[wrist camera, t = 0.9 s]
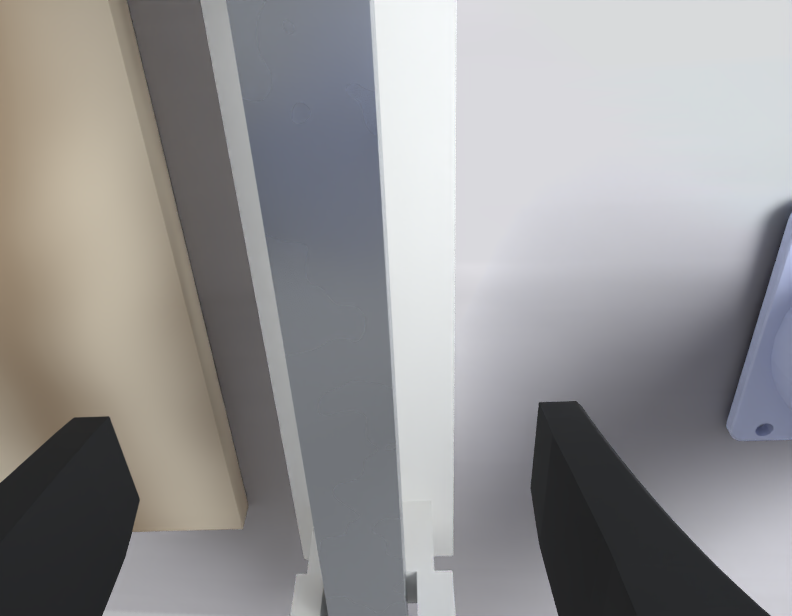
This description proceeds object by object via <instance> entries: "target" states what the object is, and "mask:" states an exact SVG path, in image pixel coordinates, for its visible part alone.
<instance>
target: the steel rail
mask: <svg viewBox="0 0 792 616" xmlns="http://www.w3.org/2000/svg"><path fill="white" fill-rule="evenodd" d="M226 4H227V10H228V16H229V22H230V28H231V34H232V40H233V46H234V52H235V58H236V64H237V70H238V76H239V82H240V88H241V94H242V100H243V106H244V112H245V118H246V124H247V130H248V136H249V142H250V148H251V154H252V160H253V166H254V172H255V178H256V184H257V190H258V196H259V202H260V208H261V214H262V220H263V226H264V232H265V238H266V244H267V250H268V256H269V262H270V268H271V274H272V280H273V286H274V292H275V298H276V304H277V310H278V316H279V322H280V328H281V334H282V340H283V346H284V352H285V358H286V364H287V370H288V376H289V382H290V388H291V394H292V400H293V406H294V412H295V418H296V424H297V430H298V436H299V442H300V448H301V454H302V460H303V466H304V472H305V478H306V484H307V490H308V496H309V502H310V508H311V514H312V520H313V526H314V532H315V538H316V544H317V550H318V556H319V562H320V568H321V574H322V580H323V586H324V592H325V598H326V604H327V610H328V616H409V615H408V597H407V579H406V561H405V543H404V525H403V507H402V489H401V471H400V453H399V435H398V417H397V399H396V381H395V363H394V345H393V327H392V309H391V291H390V273H389V255H388V237H387V220H386V202H385V184H384V166H383V148H382V130H381V112H380V94H379V76H378V58H377V40H376V22H375V4H374V0H226Z"/></svg>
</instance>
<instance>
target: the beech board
mask: <svg viewBox="0 0 792 616" xmlns="http://www.w3.org/2000/svg"><path fill="white" fill-rule="evenodd" d="M102 416H109V417H110V419H111V422H112V425H113V427H114V430H115V433H116V436H117V438H118V441H119V444H120V446H121V449H122V452H123V454H124V457H125V460H126V463H127V465H128V468H129V471H130V473H131V476H132V479H133V482H134V484H135V487H136V490H137V492H138V495H139V498H140V502H139V506H138V510H137V514H136V518H135V522H134V526H133V531H132V532H146V531H187V530H228V529H243V526H244V522H245V518H246V514H247V509H248V502H247V497H246V493H245V489H244V485H243V481H242V477H241V472H240V468H239V464H238V460H237V456H236V452H235V448H234V443H233V439H232V435H231V431H230V427H229V423H228V418H227V414H226V410H225V406H224V402H223V398H222V394H221V389H220V385H219V381H218V377H217V373H216V369H215V364H214V360H213V356H212V352H211V348H210V344H209V340H208V335H207V331H206V327H205V323H204V319H203V315H202V311H201V306H200V302H199V298H198V294H197V290H196V286H195V281H194V277H193V273H192V269H191V265H190V261H189V257H188V252H187V248H186V244H185V240H184V236H183V232H182V227H181V223H180V219H179V215H178V211H177V207H176V203H175V198H174V194H173V190H172V186H171V182H170V178H169V173H168V169H167V165H166V161H165V157H164V153H163V149H162V144H161V140H160V136H159V132H158V128H157V124H156V119H155V115H154V111H153V107H152V103H151V99H150V95H149V90H148V86H147V82H146V78H145V74H144V70H143V66H142V61H141V57H140V53H139V49H138V45H137V41H136V36H135V32H134V28H133V24H132V20H131V16H130V12H129V7H128V3H127V0H0V483H1V482H2V481H3V480H4V479H5V478H6V477H7V476H8V475H10V474H11V473H12V472H13V471H14V470H15V469H16V468H17V467H18V466H19V465H21V464H22V463H23V462H24V461H25V460H26V459H27V458H28V457H29V456H31V455H32V454H33V453H34V452H35V451H36V450H37V449H38V448H39V447H40V446H42V445H43V444H44V443H45V442H46V441H47V440H48V439H49V438H50V437H52V436H53V435H54V434H55V433H56V432H57V431H58V430H60V429H61V428H62V427H63V426H64V425H65V424H67V423H68V422H69V421H70V420H71V419H73V418H74V417H102Z"/></svg>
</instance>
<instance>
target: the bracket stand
mask: <svg viewBox="0 0 792 616" xmlns="http://www.w3.org/2000/svg"><path fill="white" fill-rule="evenodd" d="M200 2H201V8H202V13H203V19H204V24H205V29H206V35H207V40H208V45H209V51H210V56H211V62H212V67H213V72H214V78H215V83H216V88H217V94H218V99H219V105H220V110H221V115H222V121H223V126H224V131H225V137H226V142H227V148H228V153H229V158H230V164H231V169H232V174H233V180H234V185H235V191H236V196H237V201H238V207H239V212H240V218H241V223H242V228H243V234H244V239H245V244H246V250H247V255H248V261H249V266H250V271H251V277H252V282H253V287H254V293H255V298H256V304H257V309H258V314H259V320H260V325H261V330H262V336H263V341H264V347H265V352H266V357H267V363H268V368H269V373H270V379H271V384H272V390H273V395H274V400H275V406H276V411H277V416H278V422H279V427H280V433H281V438H282V443H283V449H284V454H285V460H286V465H287V470H288V476H289V481H290V486H291V492H292V497H293V503H294V508H295V513H296V519H297V524H298V529H299V535H300V540H301V546H302V551H303V556H304V559H309V561H308V569H307V574H296V579H295V586H294V593H293V600H292V607H291V614H290V616H328V610H327V604H326V598H325V592H324V586H323V580H322V574H321V568H320V562H319V556H318V550H317V544H316V538H315V532H314V526H313V520H312V514H311V508H310V502H309V496H308V490H307V484H306V478H305V472H304V466H303V460H302V454H301V448H300V442H299V436H298V430H297V424H296V418H295V412H294V406H293V400H292V394H291V388H290V382H289V376H288V370H287V364H286V358H285V352H284V346H283V340H282V334H281V328H280V322H279V316H278V310H277V304H276V298H275V292H274V286H273V280H272V274H271V268H270V262H269V256H268V250H267V244H266V238H265V232H264V226H263V220H262V214H261V208H260V202H259V196H258V190H257V184H256V178H255V172H254V166H253V160H252V154H251V148H250V142H249V136H248V130H247V124H246V118H245V112H244V106H243V100H242V94H241V88H240V82H239V76H238V70H237V64H236V58H235V52H234V46H233V40H232V34H231V28H230V22H229V16H228V10H227V4H226V0H200ZM374 4H375V22H376V40H377V58H378V76H379V94H380V112H381V130H382V148H383V166H384V184H385V202H386V220H387V237H388V255H389V273H390V291H391V309H392V327H393V345H394V363H395V381H396V399H397V417H398V435H399V453H400V471H401V489H402V507H403V525H404V543H405V561H406V579H407V597H408V603H418V616H456V612H455V599H454V585H453V572H452V570H446V571H435V570H434V556H453V516H454V349H455V181H456V13H457V0H374Z"/></svg>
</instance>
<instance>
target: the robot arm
mask: <svg viewBox="0 0 792 616" xmlns="http://www.w3.org/2000/svg"><path fill="white" fill-rule="evenodd" d="M761 424H764V425H762V426H760V425H761ZM758 426H760V427H758ZM726 428H727V429H728V431H729V433H730V434H731V436H732V438H734V439H736V440H739V441H763V440H792V212H791V214H790V216H789V219H788V222H787V225H786V229H785V232H784V235H783V239H782V242H781V245H780V248H779V252H778V255H777V258H776V262H775V265H774V268H773V272H772V275H771V278H770V281H769V285H768V288H767V291H766V295H765V298H764V301H763V304H762V308H761V311H760V314H759V318H758V321H757V324H756V327H755V331H754V334H753V337H752V341H751V344H750V347H749V350H748V354H747V357H746V360H745V364H744V367H743V370H742V373H741V377H740V380H739V383H738V387H737V390H736V393H735V396H734V400H733V403H732V406H731V410H730V413H729V416H728V419H727V423H726ZM531 493H532V500H533V507H534V514H535V520H536V527H537V533H538V539H539V545H540V549H541V553H542V557H543V560H544V564H545V568H546V572H547V575H548V579H549V583H550V586H551V590H552V594H553V597H554V601H555V605H556V608H557V612H558V616H770V615H769V614H768V613H767V612H766V611H765V610H764V609H762V608H761V607H760V606H759V605H758V604H757V603H756V602H755V601H753V600H752V599H751V598H750V597H749V596H748V595H747V594H746V593H745V592H744V591H743V590H742V589H741V588H739V587H738V586H737V585H736V584H735V583H734V582H733V581H732V580H731V579H730V578H729V577H728V576H727V575H726V574H725V573H724V572H723V571H722V570H720V569H719V568H718V567H717V566H716V565H715V564H714V563H713V562H712V561H711V560H710V559H709V558H708V557H707V556H706V555H705V554H704V553H703V552H702V551H701V550H700V548H699V547H698V546H697V545H696V544H695V543H694V542H693V541H692V540H691V539H690V538H689V537H688V536H687V535H686V534H685V533H684V532H683V531H682V529H681V528H680V527H679V526H678V525H677V524H676V523H675V522H674V521H673V520H672V519H671V518H670V516H669V515H668V514H667V513H666V512H665V511H664V510H663V509H662V508H661V506H660V505H659V504H658V503H657V502H656V501H655V499H654V498H653V497H652V496H651V495H650V493H649V492H648V491H647V490H646V489H645V488H644V486H643V485H642V484H641V483H640V482H639V481H638V479H637V478H636V477H635V476H634V475H633V473H632V472H631V471H630V470H629V469H628V467H627V466H626V465H625V464H624V462H623V461H622V460H621V458H620V457H619V456H618V455H617V453H616V452H615V451H614V450H613V448H612V447H611V446H610V444H609V443H608V442H607V440H606V439H605V438H604V436H603V435H602V434H601V432H600V431H599V430H598V428H597V427H596V426H595V424H594V423H593V422H592V420H591V419H590V417H589V416H588V415H587V413H586V412H585V410H584V409H583V408H582V406H581V405H580V404H578V403H577V402H576V401H569V402H539V407H538V417H537V428H536V438H535V448H534V459H533V469H532V479H531ZM139 502H140V498H139V495H138V492H137V490H136V487H135V484H134V482H133V479H132V476H131V473H130V471H129V468H128V465H127V463H126V460H125V457H124V454H123V452H122V449H121V446H120V444H119V441H118V438H117V436H116V433H115V430H114V427H113V425H112V422H111V419H110V417H109V416H102V417H74V418H73V419H71V420H70V421H69V422H68V423H67V424H65V425H64V426H63V427H62V428H61V429H60V430H58V431H57V432H56V433H55V434H54V435H53V436H52V437H50V438H49V439H48V440H47V441H46V442H45V443H44V444H43V445H42V446H40V447H39V448H38V449H37V450H36V451H35V452H34V453H33V454H32V455H31V456H29V457H28V458H27V459H26V460H25V461H24V462H23V463H22V464H21V465H19V466H18V467H17V468H16V469H15V470H14V471H13V472H12V473H11V474H10V475H8V476H7V477H6V478H5V479H4V480H3V481H2V482H1V483H0V616H102V615H103V612H104V610H105V607H106V605H107V602H108V600H109V597H110V595H111V592H112V590H113V587H114V585H115V582H116V579H117V577H118V574H119V572H120V569H121V567H122V564H123V561H124V559H125V556H126V552H127V549H128V545H129V541H130V538H131V534H132V531H133V526H134V522H135V518H136V514H137V510H138V506H139Z"/></svg>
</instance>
